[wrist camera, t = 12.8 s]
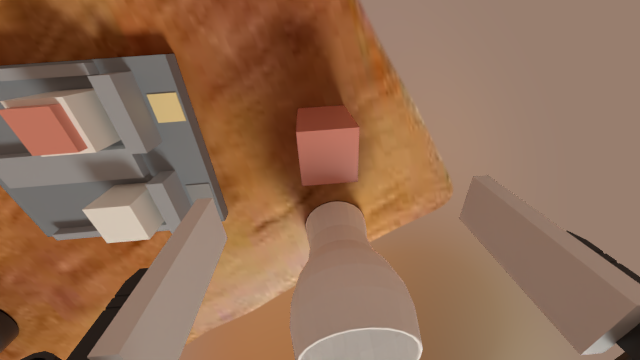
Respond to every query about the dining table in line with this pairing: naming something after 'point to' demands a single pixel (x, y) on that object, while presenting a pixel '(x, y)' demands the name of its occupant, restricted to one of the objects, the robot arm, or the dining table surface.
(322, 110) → the cap
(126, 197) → the block
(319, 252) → the cup
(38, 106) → the block
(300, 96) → the dining table surface
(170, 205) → the panel
